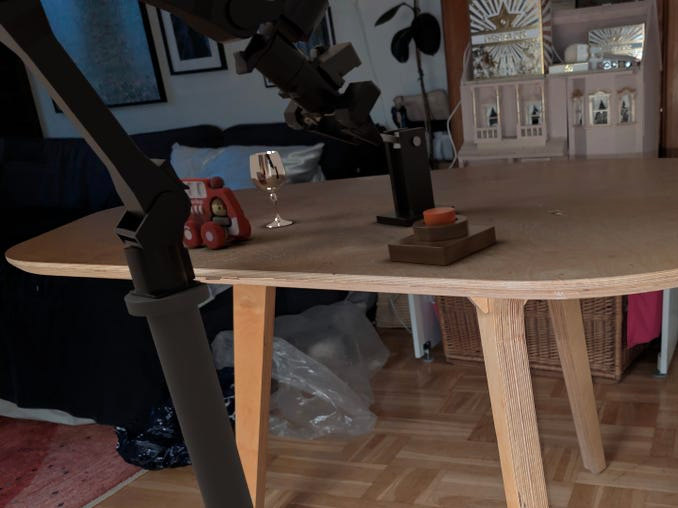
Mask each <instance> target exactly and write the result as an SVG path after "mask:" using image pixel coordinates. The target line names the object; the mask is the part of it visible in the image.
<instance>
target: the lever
mask: <svg viewBox="0 0 678 508" xmlns="http://www.w3.org/2000/svg"><path fill="white" fill-rule="evenodd" d="M349 135H350V134H349ZM380 135H381V136H382V138H383V142H382V143H385V142H388V143H394V148H395V149H401V147H400V140H399V133H398V132H394V136H391V135H385V134H383V133H380ZM350 138H352V139H360V138H357V137H355V136H352V135H350Z"/></svg>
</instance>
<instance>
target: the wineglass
mask: <svg viewBox="0 0 678 508" xmlns="http://www.w3.org/2000/svg"><path fill="white" fill-rule="evenodd" d="M249 174H250V178H251V181H252V183H253V185H254V186H255V187H256V188H257V189H258V190H260V191H262V192H265V193H266V192H267V193H270V200H271V202H272V204H273V208H274V212H275V220H273V221H272V222H270V223H268V224H266V226H265V227H266V228H279V227H285V226H289V225H291V224H292V223H293V221H292V220H285V219H283V218H281V216H280V214H279V209H278V198H277V197H278V196H277V195H276V192H277V191H279V190H280V189H281V188H283V187H284V186H285V184H286V181H287V170H286V167H285V164H284V161H283V159H282V157H281V155H280V153H279V151H278V150H271V151H263V152H256V153H251V154H249Z"/></svg>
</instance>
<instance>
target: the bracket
mask: <svg viewBox="0 0 678 508" xmlns="http://www.w3.org/2000/svg"><path fill="white" fill-rule="evenodd" d="M394 132H398V133H399V140H400V147H401V149H395V148H394V143H388V142H384V147H385V155H386V160H387V167H388V173H389V180H390V188H391V193H392V199H393V200H392V201H393V206H394V210H392V211H387V212H383V213H380V214H377V215H375V218H376V224H383V225H391V226H399V227H406V228H407V227H410V226H413V224H414V223H415V222H416V221H419V220H422V219H424V215H423V212H424V211H426V210H429V209H434V208H441V207H451V208H454V209H455V206H454V205H449V204H436V203H435V197H434V189H433V182H432V174H431V168H430V167H431V166H430V159H429V151H428V143H427V136H426V128H425V126H422V127H421V126H420V127H414V128H410V127H401V128H395V129H390V130H383V131H382V134H385V135H391V136H394ZM455 210H456V209H455Z"/></svg>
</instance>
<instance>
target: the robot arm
mask: <svg viewBox="0 0 678 508" xmlns="http://www.w3.org/2000/svg"><path fill="white" fill-rule="evenodd" d="M137 1H138V2H140V3H143V4H146V5H148V6H152V7H154V8H155V9H159V10H162V11H164V12H167V13H170V14H172V15H173V16H175V17H177V18H178V19H180V20H181V21H183V22H184V23H185V24H187V26H189V27H190V28H191V29H192V30H194V31H196V32H198V33H199V34H201V35H203V36H205V37H207V38H208V39H210V40H212V41H213V42H215V43H219V44H224V45H225V44H231V43H237V42H241V41H245V40H248V39H249V40H248V42H247V43H246V45H245V46H244V48H243V50H237V51H234V52H232V56H233V58H234V67H235V73H236V75H238V76H241V75H249V74H252V73H253V72H254V70H256V71H257V72H259V74H261V75H262V76H263V77H265V78H266V79H267V80H268V81H269V82H270V83H271V84H273V85H274V86H275V87H276V88H277V89H279V90H278V93H277V95H278V96H279V97H280V98H282V99H283V100H287V99H290V102H289V103H288V105H287V106H286V107H285V110H284V111H283V116H284V122H285V123H286V124H287V125H288V126H289V127H290V128H292V129H293V130H295V131H301V130H304V129H305V128H306V125H305V123H306V124H307V125H308V126H307V129H306V130H307V132H309V133H313V134H317V135H320V136H324V137H327V138H330V139H335V140H338V141H341V142H344V143H348V144H351V145H353V146H357V147H360V146H361V145H362V144H363V142H364V141H365V142H367V143H370V144H373V145H375V146H377V147H380V146H382V144H383V143H384V142H383V138H382V136H381V135H380V134H381V133H380V131H379V129H378V127H377V125H376V123H375V122H374V120H373V117H372V115H371V112H372V110H373V109H374V107H375V105H376V103H377V101H378V100H379V97H380V96H381V94H382V90H381V88H379V87H378V85H377V84H375V83H374V81H373V80H363V81H354V82H349V83H348V85H347V86H346V88H345V90H344V91H343V92H340V89H343V87H344V85H345V83H346V80H345V79H344V78H343V77H344V76H346V75H348V73H351V72H352V71H353V69H355V68H359V67H360V66H361V65H362V64H363V62H362V60H361V59H360V57H359V55H358V53H357V50H356V49H355V47H354V45H353V43H352V42H351V41H345V42H341V43H337V44H334V45H331V46H329V47H327V46H325V45H324V44H318V45H315V46H314V47H312V48H311V49H310V50H309V55H310V57H308V56H307V55H306V54H305V53H303V51H302V50H300V49H299V48H298V47H297V46H296V45H295V44H299V43H300V42H301V43H308V42H310V40H311V39H312V36H313V35H314V33H315V31H316V30H317V28H318V26H319V25H320V23H321V21H322V20H323V18H324V17H325V14H326V13H327V11H328V9H329V8H330V1H329V0H137ZM263 24H265V26H264V27H263V29H262V31H261V32H260V33H258V31H259V30H260V26H261V25H263ZM0 42H1V43H2V44H3V45H5V46H6V47H7V48H8V49H10V50H11V51H12V52H14V53H15V54H16V55H17V57H19V58H20V60H21V61H22V62H23V64H25V66H26V67H27V68H28V69H29V71H30V72H31V73H32V75H33V76H34V77H35V78H36V79H37V81H38V83H40V85H41V86H42V87H43V88H44V90H45V91H46V92H47V94H48V95H49V96H50V97H51V99H52V100H53V101H54V102H55V104H56V105H57V106H58V107H59V109H60V110H61V111H62V113H63V114H64V115H65V116H66V118H67V119H68V120H69V121H70V123H71V124H72V125H73V126H74V128H75V129H76V130H77V132H78V133H79V134H80V135H81V137H82V138H83V139H84V140H85V141H86V143H87V144H88V146H89V147H90V148H91V149H92V150H93V152H94V153H95V154H96V155H97V157H98V158H99V159H100V160H101V162H102V163H103V164H104V166H105V167H106V169H107V171H108V172H109V175H110V178H111V181H112V183H113V185H114V188H115V190H116V193H117V194H118V197H119V198H120V200H121V202H122V204H123V205H124V207H125V210H124V212H123V213H122V215H121V217H120V218H119V220H118V221H117V223H116V224H115V226H114V228H113V233H114V234H115V235H116V237H117V238H118V239H119V240H120V242H121V243H122V244H123V245H129V246H127V247H124V248H122V251H123V254H124V258H125V261H126V264H127V267H128V270H129V274H130V277H131V280H132V283H133V286H134V289H132V290H129V293H130V295H133V296H139V297H145V298H151V299H160V298H163V297H166V296H169V295H172V294H175V293H178V292H181V291H184V290H187V289H190V288H193V287H196V286H199V285H201V282H202V281H201V280H199V279H198V280H197V279H196V273H195V270H194V266H193V262H192V258H191V254H190V251H189V249H188V248H187V247H186V246H185V245H184V244H185V243H184V242H183V238H184V226H185V223H186V222H187V221H188V219H189V216H190V214H191V207H192V203H191V199H190V197H189V196H188V194H187V192H186V191H185V190H189V189H190V187H189V186H187V185H186V184H184V183H183V182H182V181H181V180H180V179H181V178H180V177H179V175H178V173H177V172H176V170H175V168H174V166H173V164H172V163H171V161H170V160H169V159H164V158H163V159H161V158H149V156H147V155H146V154H145V153H144V152H143V151H142V150H141V149H140V148H139V146H138V145H137V144H136V143H135V141H134V140H133V139H132V137H131V136H130V135H129V133H128V132H127V131H126V129H125V128H124V127H123V126H122V123H120V122H119V119H117V117H116V116H115V115H114V113H113V112H112V111H111V109H110V108H109V107H108V105H107V103H105V101H104V100H103V99H102V97H101V96H100V95H99V94H98V92H97V91H96V89H95V88H94V87H93V85H92V84H91V82H90V81H89V79H87V78H86V75H84V73H83V72H82V71H81V69H80V68H79V67H78V65H77V64H76V63H75V61H74V60H73V58H72V57H71V56H70V54H69V53H68V52H67V50H66V49H65V48H64V46H63V45H62V43H60V41H59V40H58V38H57V37H56V35H55V33H54V31H53V28H52V26H51V23H50V21H49V18H48V15H47V12H46V11H45V8H44V5H43V3H42V1H41V0H0ZM349 134H350V135H352V136H355V137H357V138H360V139H352V138H350V135H349Z"/></svg>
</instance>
